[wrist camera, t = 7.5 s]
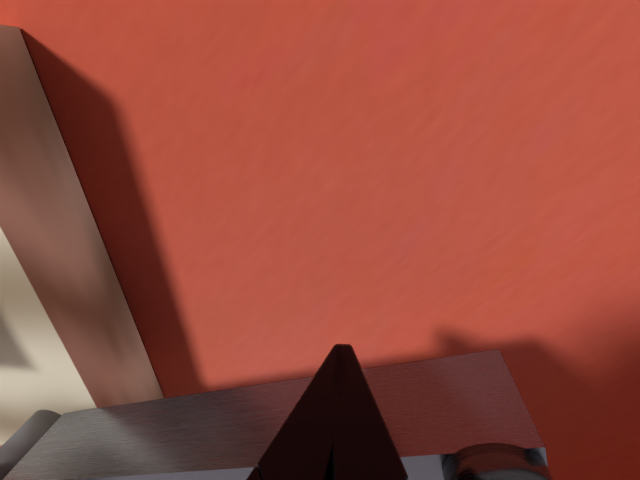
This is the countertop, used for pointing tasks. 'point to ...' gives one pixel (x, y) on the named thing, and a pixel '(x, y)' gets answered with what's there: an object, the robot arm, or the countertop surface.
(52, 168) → the cream rectangular block
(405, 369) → the latch lever
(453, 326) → the countertop surface
